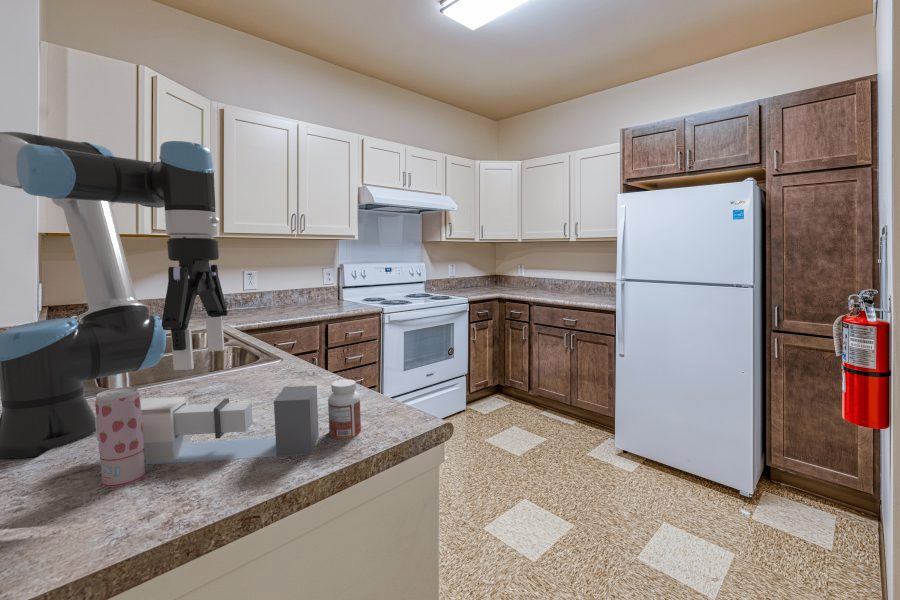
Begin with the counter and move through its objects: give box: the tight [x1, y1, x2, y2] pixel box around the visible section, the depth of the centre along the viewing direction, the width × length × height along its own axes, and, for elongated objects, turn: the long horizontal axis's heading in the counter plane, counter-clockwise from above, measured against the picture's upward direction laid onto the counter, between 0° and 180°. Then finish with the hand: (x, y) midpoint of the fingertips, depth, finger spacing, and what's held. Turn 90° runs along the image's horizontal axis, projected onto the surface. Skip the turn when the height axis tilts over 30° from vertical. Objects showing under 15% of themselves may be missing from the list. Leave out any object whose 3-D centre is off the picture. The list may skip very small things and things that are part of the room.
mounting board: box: [146, 435, 319, 466], centre depth 80 cm, size 32×8×1 cm, turn 98°
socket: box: [273, 385, 320, 457], centre depth 81 cm, size 6×8×10 cm
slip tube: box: [95, 397, 254, 441], centre depth 78 cm, size 24×5×5 cm, turn 98°
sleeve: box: [140, 395, 192, 463], centre depth 77 cm, size 9×7×9 cm
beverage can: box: [94, 386, 147, 488], centre depth 69 cm, size 6×6×15 cm
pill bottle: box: [327, 379, 362, 439], centre depth 87 cm, size 6×6×11 cm
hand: (201, 359), depth 77 cm, fingers open, 13 cm apart
